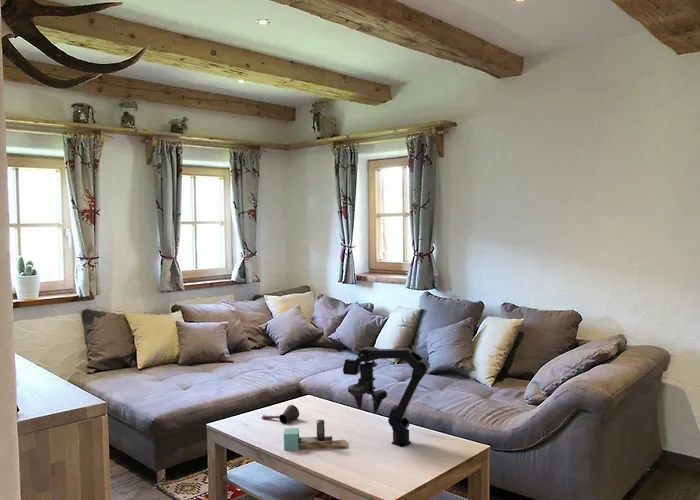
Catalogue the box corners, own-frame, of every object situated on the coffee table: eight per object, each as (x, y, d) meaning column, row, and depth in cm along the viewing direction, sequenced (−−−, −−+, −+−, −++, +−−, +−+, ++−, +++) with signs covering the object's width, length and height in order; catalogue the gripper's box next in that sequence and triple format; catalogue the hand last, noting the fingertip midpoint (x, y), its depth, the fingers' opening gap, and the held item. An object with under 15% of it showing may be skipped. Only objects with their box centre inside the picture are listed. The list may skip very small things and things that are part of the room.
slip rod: (324, 441, 251) (324, 419, 251) (324, 444, 248) (324, 422, 247) (291, 442, 251) (290, 420, 251) (290, 445, 248) (289, 423, 247)
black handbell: (301, 418, 284) (291, 426, 277) (273, 417, 294) (262, 425, 287) (297, 404, 283) (287, 412, 276) (269, 403, 293) (259, 411, 286)
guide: (346, 442, 253) (345, 435, 253) (346, 448, 246) (346, 441, 246) (302, 443, 253) (302, 436, 253) (301, 449, 246) (301, 442, 246)
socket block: (299, 443, 253) (298, 427, 253) (298, 449, 246) (297, 433, 246) (285, 444, 253) (285, 428, 252) (284, 450, 246) (283, 434, 245)
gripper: (338, 376, 255) (339, 410, 256) (370, 383, 242) (371, 420, 243) (356, 371, 263) (356, 404, 264) (387, 378, 250) (388, 413, 251)
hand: (367, 410), depth 255 cm, fingers open, 9 cm apart
